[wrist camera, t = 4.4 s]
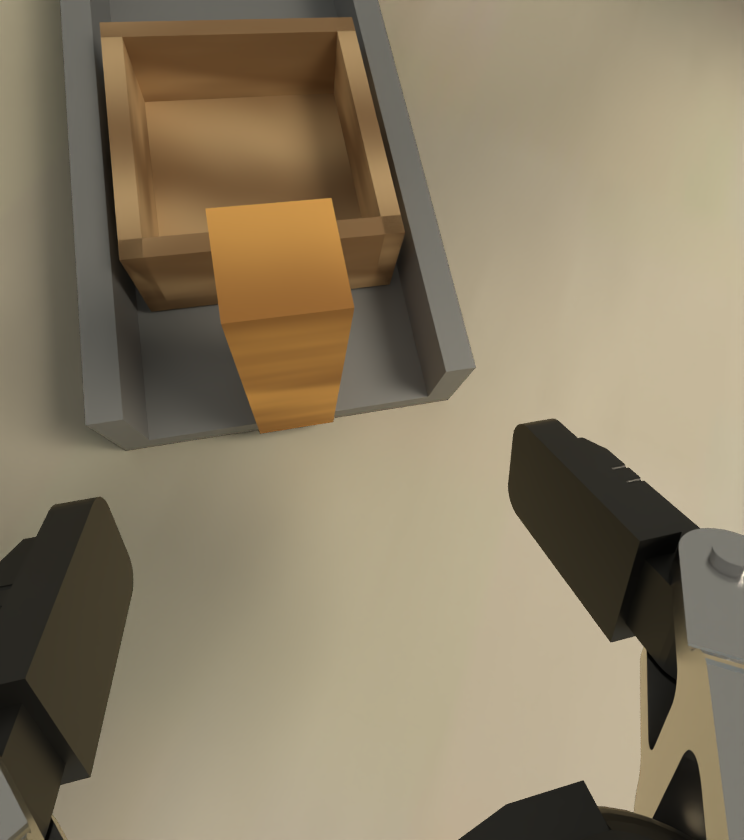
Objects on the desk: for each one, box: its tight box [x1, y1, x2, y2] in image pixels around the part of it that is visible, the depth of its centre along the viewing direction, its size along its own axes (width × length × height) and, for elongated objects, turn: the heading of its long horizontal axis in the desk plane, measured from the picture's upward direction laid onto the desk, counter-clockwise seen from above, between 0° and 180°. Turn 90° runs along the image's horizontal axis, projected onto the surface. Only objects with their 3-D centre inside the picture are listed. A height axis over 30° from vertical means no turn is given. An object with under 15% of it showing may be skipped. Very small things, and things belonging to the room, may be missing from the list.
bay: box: [60, 0, 476, 451], centre depth 24 cm, size 30×14×4 cm, turn 12°
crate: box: [100, 17, 405, 434], centre depth 18 cm, size 17×10×10 cm, turn 12°
